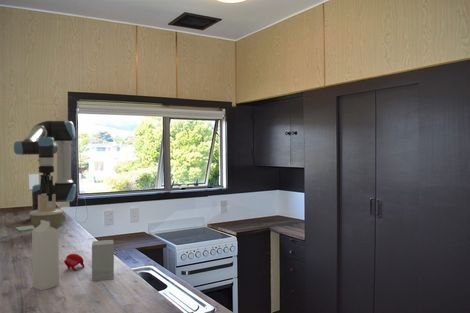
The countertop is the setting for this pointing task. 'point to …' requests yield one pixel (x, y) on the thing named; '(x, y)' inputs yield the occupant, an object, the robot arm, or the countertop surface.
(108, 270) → the supplement box
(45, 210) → the lid
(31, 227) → the mat
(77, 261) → the cap
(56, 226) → the planter bowl
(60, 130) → the robot arm
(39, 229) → the milk
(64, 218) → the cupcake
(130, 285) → the countertop surface
